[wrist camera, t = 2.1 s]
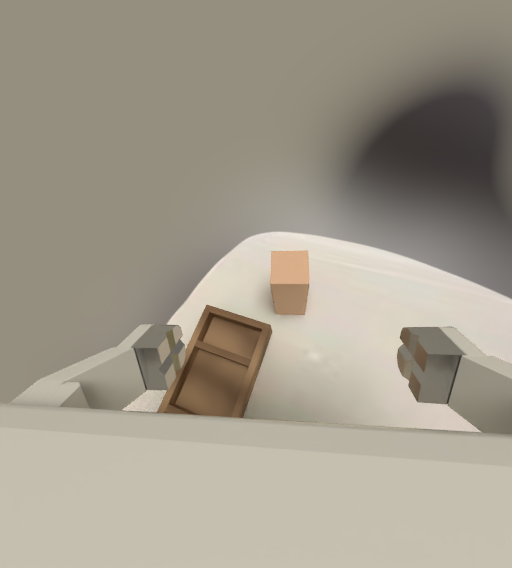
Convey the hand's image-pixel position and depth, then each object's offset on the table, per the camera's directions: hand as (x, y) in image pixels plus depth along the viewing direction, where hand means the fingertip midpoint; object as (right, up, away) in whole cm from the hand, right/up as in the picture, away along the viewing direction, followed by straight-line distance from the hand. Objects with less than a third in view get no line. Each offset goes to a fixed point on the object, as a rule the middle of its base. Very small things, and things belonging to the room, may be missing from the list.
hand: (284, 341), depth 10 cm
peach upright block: (+4, 0, +27) cm, 27 cm away
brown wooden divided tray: (-6, -11, +23) cm, 26 cm away
